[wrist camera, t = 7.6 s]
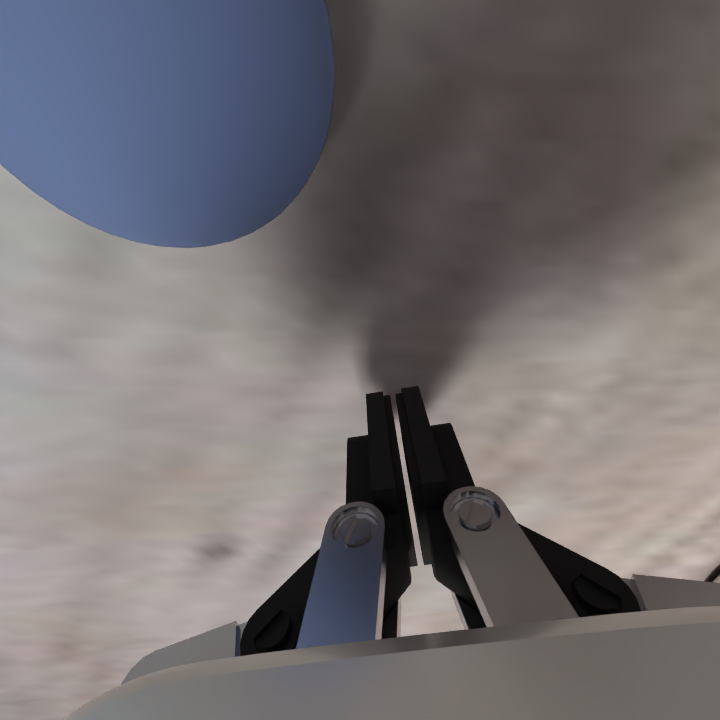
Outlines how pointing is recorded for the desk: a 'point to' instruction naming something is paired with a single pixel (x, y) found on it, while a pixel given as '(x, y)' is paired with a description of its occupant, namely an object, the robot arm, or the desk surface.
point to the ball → (165, 111)
